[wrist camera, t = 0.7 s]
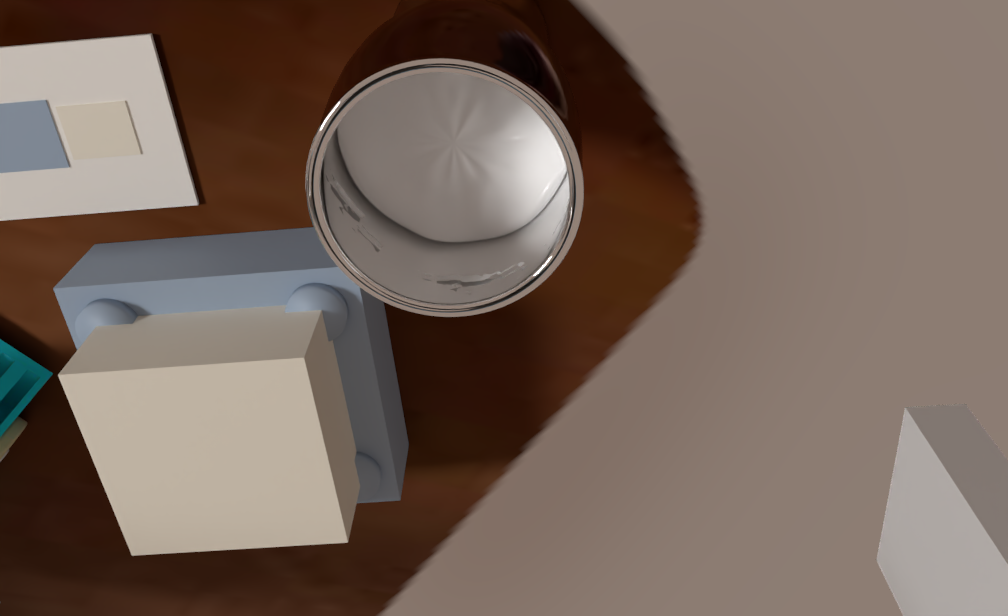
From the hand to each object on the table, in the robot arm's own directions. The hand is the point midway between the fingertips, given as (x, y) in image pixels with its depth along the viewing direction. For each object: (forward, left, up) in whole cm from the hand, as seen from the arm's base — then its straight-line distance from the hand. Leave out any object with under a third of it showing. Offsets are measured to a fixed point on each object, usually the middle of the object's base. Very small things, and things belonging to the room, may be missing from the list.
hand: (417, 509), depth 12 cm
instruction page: (-17, -2, -25) cm, 30 cm away
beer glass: (0, 0, -25) cm, 25 cm away
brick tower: (-11, -13, -25) cm, 30 cm away
